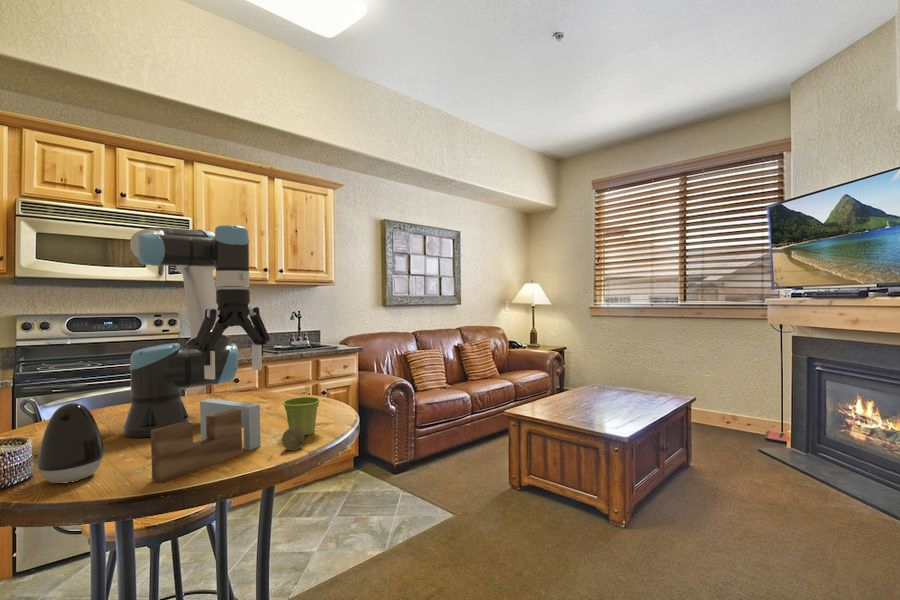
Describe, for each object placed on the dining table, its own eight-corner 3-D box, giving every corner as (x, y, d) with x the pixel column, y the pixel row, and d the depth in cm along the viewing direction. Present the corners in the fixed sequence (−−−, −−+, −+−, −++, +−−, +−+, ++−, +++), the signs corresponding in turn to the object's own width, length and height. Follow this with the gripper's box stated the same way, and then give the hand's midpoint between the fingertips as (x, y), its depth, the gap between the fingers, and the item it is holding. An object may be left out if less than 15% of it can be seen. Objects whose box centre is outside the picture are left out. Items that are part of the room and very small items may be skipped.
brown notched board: (152, 481, 87) (150, 430, 87) (233, 451, 103) (232, 408, 103) (161, 483, 86) (159, 431, 86) (242, 453, 102) (241, 410, 102)
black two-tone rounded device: (27, 494, 83) (25, 412, 83) (50, 474, 92) (49, 401, 92) (95, 483, 87) (93, 405, 87) (111, 466, 96) (109, 395, 96)
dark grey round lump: (307, 446, 106) (306, 425, 106) (294, 453, 101) (293, 431, 101) (291, 445, 107) (290, 424, 107) (277, 451, 103) (277, 430, 103)
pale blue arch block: (200, 440, 113) (199, 401, 113) (211, 437, 115) (210, 398, 115) (249, 449, 104) (248, 407, 104) (260, 446, 107) (259, 404, 107)
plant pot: (326, 428, 121) (325, 396, 121) (312, 439, 111) (311, 404, 111) (293, 428, 122) (292, 396, 122) (276, 439, 112) (275, 404, 112)
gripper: (195, 288, 98) (198, 384, 98) (282, 288, 120) (284, 367, 120) (173, 288, 101) (175, 382, 101) (262, 289, 123) (263, 365, 124)
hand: (234, 374), depth 111 cm, fingers open, 13 cm apart
